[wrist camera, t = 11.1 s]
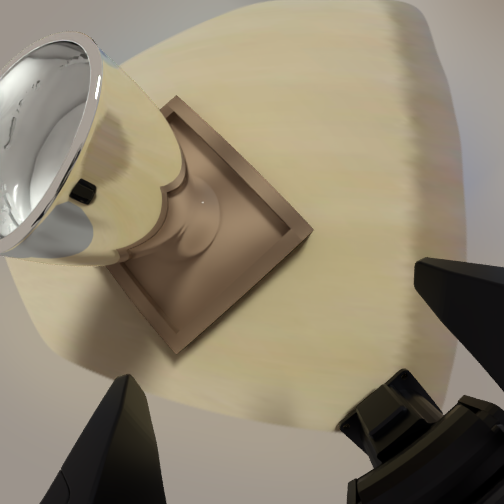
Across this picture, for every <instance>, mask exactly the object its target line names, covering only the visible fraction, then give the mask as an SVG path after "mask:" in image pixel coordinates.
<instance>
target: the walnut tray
mask: <svg viewBox="0 0 504 504" xmlns="http://www.w3.org/2000/svg"><path fill="white" fill-rule="evenodd" d="M160 111H161V112H162V114H163V115H164V117H165V118H166V120H167V121H168V122H169V124H170V125H171V127H172V129H173V130H174V132H175V134H176V136H177V139H178V141H179V143H180V145H181V147H182V149H183V152H184V154H185V157H186V160H187V163H188V165H189V168H190V171H191V174H192V175H195V176H197V177H200V178H201V179H203V180H204V181H206V182H207V183H208V184H209V185H210V186H211V188H212V189H213V190H214V192H215V194H216V196H217V198H218V201H219V205H220V213H221V216H220V224H219V228H218V231H217V233H216V236H215V238H214V239H213V241H212V242H211V244H210V245H209V246H208V247H207V248H206V249H205V250H204V251H203V252H202V253H200V254H199V255H197V256H195V257H193V258H191V259H189V260H185V261H178V262H173V261H166V260H163V259H160V258H158V257H156V256H154V255H152V254H149V255H146V256H143V257H140V258H136V259H133V260H130V261H126V262H121V263H116V264H111V265H106V267H107V268H108V270H109V271H110V272H111V274H112V275H113V277H114V278H115V279H116V281H117V282H118V283H119V285H120V286H121V287H122V289H123V290H124V291H125V293H126V294H127V295H128V297H129V298H130V299H131V301H132V302H133V303H134V304H135V306H136V307H137V308H138V310H139V311H140V312H141V313H142V315H143V316H144V317H145V318H146V320H147V321H148V322H149V323H150V324H151V326H152V327H153V328H154V329H155V330H156V332H157V333H158V334H159V335H160V336H161V338H162V339H163V340H164V341H165V342H166V343H167V345H168V346H169V347H170V348H171V349H172V350H173V351H174V353H175V354H177V353H179V352H180V351H181V350H182V349H184V348H185V347H186V346H187V345H188V344H189V343H191V342H192V341H193V340H194V339H195V338H196V337H197V336H199V335H200V334H201V333H202V332H203V331H204V330H205V329H206V328H208V327H209V326H210V325H211V324H212V323H213V322H214V321H215V320H217V319H218V318H219V317H220V316H221V315H222V314H223V313H224V312H226V311H227V310H228V309H229V308H230V307H231V306H232V305H233V304H234V303H236V302H237V301H238V300H239V299H240V298H241V297H242V296H243V295H244V294H246V293H247V292H248V291H249V290H250V289H251V288H252V287H253V286H254V285H255V284H257V283H258V282H259V281H260V280H261V279H262V278H263V277H264V276H265V275H266V274H268V273H269V272H270V271H271V270H272V269H273V268H274V267H275V266H276V265H277V264H278V263H279V262H281V261H282V260H283V259H284V258H285V257H286V256H287V255H288V254H289V253H290V252H291V251H292V250H294V249H295V248H296V247H297V246H298V245H299V244H300V243H301V242H302V241H303V240H304V239H305V238H306V237H307V236H309V235H310V234H311V233H312V231H313V230H314V229H313V228H312V227H311V226H310V225H309V224H308V223H307V222H306V221H305V220H304V219H303V218H302V216H301V215H300V214H299V213H298V212H297V211H296V210H295V209H294V208H293V207H292V206H291V205H290V204H289V203H288V202H287V201H286V200H285V199H284V198H283V197H282V196H281V195H280V194H279V193H278V192H277V191H276V189H275V188H274V187H273V186H272V185H271V184H270V183H269V182H268V181H267V180H266V179H265V178H264V177H263V176H262V175H261V174H260V173H259V172H258V171H257V170H256V169H255V168H254V167H253V166H252V165H251V164H250V163H249V162H247V161H246V160H245V159H244V158H243V157H242V156H241V155H240V154H239V153H238V152H237V151H236V150H235V149H234V148H233V147H232V146H231V145H230V144H229V143H228V142H227V141H226V140H225V139H224V138H223V137H222V136H220V135H219V134H218V133H217V132H216V131H215V130H214V129H213V128H212V127H211V126H210V125H209V124H208V123H207V122H206V121H204V120H203V119H202V118H201V117H200V116H199V115H198V114H197V113H196V112H195V111H194V110H192V109H191V108H190V107H189V106H188V105H187V104H186V103H185V102H184V101H182V100H181V99H180V98H179V97H178V96H177V95H176V96H175V97H174V98H173V99H172V100H170V101H169V102H168V103H167V104H166V105H165V106H164V107H162V108H161V109H160Z"/></svg>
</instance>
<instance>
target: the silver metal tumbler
mask: <svg viewBox="0 0 504 504" xmlns="http://www.w3.org/2000/svg"><path fill="white" fill-rule="evenodd" d="M220 216H221V213H220V205H219V201H218V198H217V196H216V194H215V192H214V190H213V189H212V188H211V186H210V185H209V184H208V183H207V182H206V181H204V180H203V179H201V178H200V177H197V176H195V175H192V174H191V171H190V168H189V165H188V163H187V160H186V157H185V154H184V152H183V149H182V147H181V145H180V143H179V141H178V139H177V136H176V134H175V132H174V130H173V129H172V127H171V125H170V124H169V122H168V121H167V120H166V118H165V117H164V115H163V114H162V112H161V111H160V110H159V108H158V107H157V106H156V104H155V103H154V102H153V101H152V100H151V99H150V97H149V96H148V95H147V94H146V93H145V92H144V91H143V89H142V88H141V87H140V86H139V85H138V84H137V83H136V82H135V81H134V80H133V79H132V78H131V77H130V76H129V75H128V74H127V73H126V72H125V71H124V70H123V69H122V68H120V67H119V66H118V65H117V64H116V63H115V62H114V61H113V60H112V59H110V58H109V57H108V56H107V55H106V54H105V53H104V52H103V51H102V50H101V49H100V48H99V47H98V46H97V44H96V43H95V42H94V40H93V39H92V38H90V37H89V36H87V35H85V34H83V33H80V32H74V31H66V32H59V33H55V34H52V35H49V36H47V37H45V38H42V39H41V40H38V41H36V42H35V43H33V44H31V45H30V46H28V47H27V48H25V49H24V50H23V51H21V52H20V53H19V54H18V55H16V56H15V57H14V58H13V59H12V60H11V61H10V62H9V63H8V64H7V65H6V66H5V67H4V68H3V69H2V70H1V71H0V256H4V257H9V258H14V259H19V260H24V261H30V262H37V263H43V264H50V265H61V266H74V267H84V266H106V265H111V264H116V263H121V262H126V261H130V260H133V259H136V258H140V257H143V256H146V255H149V254H152V255H154V256H156V257H158V258H160V259H163V260H166V261H173V262H178V261H185V260H189V259H191V258H193V257H195V256H197V255H199V254H200V253H202V252H203V251H204V250H205V249H206V248H207V247H208V246H209V245H210V244H211V242H212V241H213V239H214V238H215V236H216V233H217V231H218V228H219V224H220Z"/></svg>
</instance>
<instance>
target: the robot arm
mask: <svg viewBox="0 0 504 504" xmlns="http://www.w3.org/2000/svg"><path fill="white" fill-rule="evenodd" d="M414 287H415V289H416V291H417V292H418V293H419V295H420V296H421V297H422V298H423V299H424V301H425V302H426V303H427V304H428V306H429V307H430V308H431V309H432V311H433V312H434V313H435V314H436V316H437V317H438V318H439V319H440V321H441V322H442V323H443V324H444V325H445V326H446V327H447V328H448V329H449V330H450V331H451V332H452V334H453V335H454V336H455V337H456V338H457V339H458V340H459V341H460V342H461V343H462V344H463V345H464V346H465V348H466V349H467V350H468V351H469V352H470V353H471V354H472V355H473V356H474V357H475V359H476V360H477V361H478V362H479V363H480V364H481V365H482V367H483V368H484V369H485V370H486V371H487V372H488V373H489V375H490V376H491V377H492V378H493V379H494V380H495V382H496V383H497V384H498V385H499V387H500V388H501V389H502V390H503V391H504V267H497V266H490V265H483V264H475V263H467V262H460V261H452V260H444V259H436V258H428V257H425V258H422V259H420V260H419V261H417V262H416V263H415V267H414ZM404 373H406V376H405V377H404V378H401V377H402V375H403V374H404ZM345 424H349V425H348V426H347V427H343V426H344V425H345ZM339 428H340V430H341V431H342V432H343V433H344V434H345V435H346V436H347V437H348V438H350V439H351V440H352V441H353V442H354V443H355V444H356V445H357V446H358V447H359V448H361V449H362V450H363V451H364V452H365V453H366V454H367V455H368V456H369V458H370V461H371V463H372V465H373V467H374V469H373V470H371V471H369V472H368V473H366V474H365V475H363V476H361V477H360V478H358V479H354V480H352V481H350V482H349V483H348V492H347V504H504V411H503V410H502V409H501V408H500V407H498V406H497V405H495V404H493V403H490V402H487V401H483V400H480V399H476V398H473V397H470V396H466V395H463V397H462V398H460V400H458V403H457V404H456V405H455V406H454V407H453V408H452V409H451V410H450V411H448V412H447V413H446V414H445V415H443V413H442V411H441V410H440V409H439V407H438V406H437V405H436V404H435V402H434V401H433V400H432V399H431V397H430V396H429V395H428V394H427V392H426V391H425V390H424V389H423V387H422V386H421V385H420V384H419V382H418V381H417V380H416V379H415V378H414V376H413V375H412V374H411V373H410V372H409V371H408V370H407V369H401V370H399V371H398V372H397V373H396V374H395V375H394V376H393V377H392V378H391V379H390V380H389V381H388V382H387V383H386V384H384V385H381V386H380V387H379V388H378V389H377V390H375V391H374V392H373V393H372V394H371V395H370V396H369V397H367V398H366V399H365V400H364V401H363V402H361V403H360V404H359V405H358V406H357V407H356V409H355V410H354V411H353V412H352V413H350V414H349V415H348V416H347V417H345V418H344V419H343V420H342V421H341V422H340V423H339ZM40 504H166V498H165V493H164V487H163V481H162V475H161V469H160V462H159V454H158V448H157V442H156V438H155V434H154V430H153V425H152V421H151V417H150V412H149V407H148V403H147V399H146V396H145V394H144V392H143V391H142V389H141V388H140V386H139V385H138V384H137V382H136V381H135V379H134V378H133V377H132V376H131V375H130V374H126V375H123V376H119V377H117V378H116V379H115V380H114V382H113V384H112V385H111V387H110V388H109V390H108V391H107V393H106V395H105V396H104V398H103V399H102V401H101V402H100V404H99V406H98V407H97V409H96V410H95V412H94V414H93V415H92V417H91V419H90V420H89V422H88V424H87V425H86V427H85V428H84V430H83V432H82V433H81V435H80V437H79V438H78V440H77V442H76V443H75V445H74V447H73V448H72V450H71V452H70V453H69V455H68V457H67V459H66V460H65V462H64V464H63V465H62V467H61V470H60V471H59V472H58V474H57V476H56V478H55V479H54V481H53V483H52V484H51V486H50V488H49V490H48V491H47V493H46V494H45V496H44V498H43V499H42V501H41V502H40Z"/></svg>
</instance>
